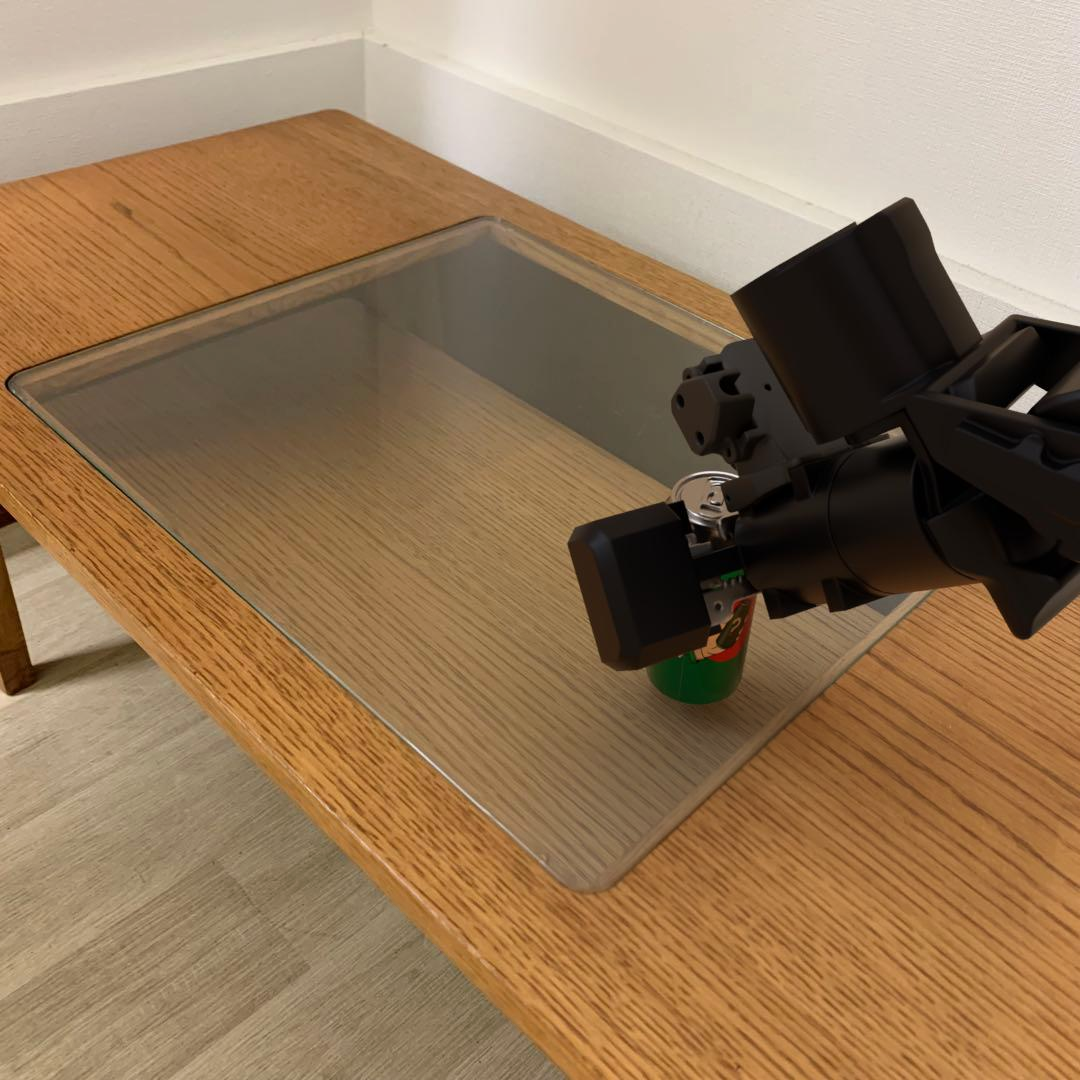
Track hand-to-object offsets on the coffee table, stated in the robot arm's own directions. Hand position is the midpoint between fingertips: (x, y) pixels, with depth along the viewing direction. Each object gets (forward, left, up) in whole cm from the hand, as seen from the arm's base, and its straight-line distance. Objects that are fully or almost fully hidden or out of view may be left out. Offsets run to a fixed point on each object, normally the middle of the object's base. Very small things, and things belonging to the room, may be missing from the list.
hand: (686, 564), depth 57 cm
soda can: (-2, 0, -7) cm, 7 cm away
